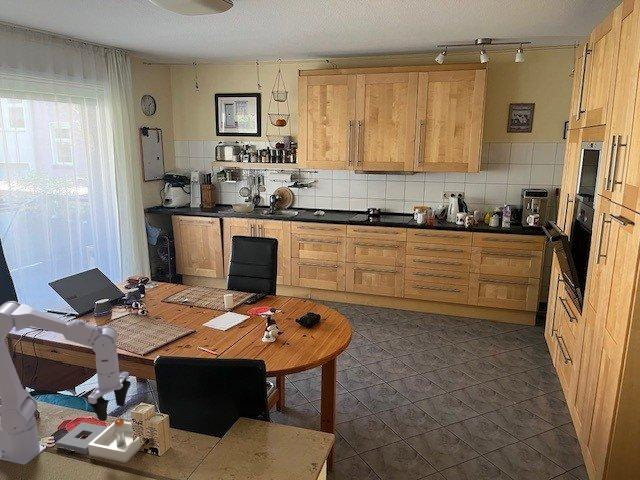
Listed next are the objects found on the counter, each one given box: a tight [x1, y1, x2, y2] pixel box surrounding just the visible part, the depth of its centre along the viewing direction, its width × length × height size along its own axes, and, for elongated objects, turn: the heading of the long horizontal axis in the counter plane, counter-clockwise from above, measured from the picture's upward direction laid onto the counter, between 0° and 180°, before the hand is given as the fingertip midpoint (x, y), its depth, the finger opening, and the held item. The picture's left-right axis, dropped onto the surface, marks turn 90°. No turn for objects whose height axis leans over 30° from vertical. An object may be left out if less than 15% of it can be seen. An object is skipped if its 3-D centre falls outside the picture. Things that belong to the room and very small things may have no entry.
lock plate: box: [55, 421, 109, 456], centre depth 137 cm, size 10×10×2 cm
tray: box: [88, 420, 141, 464], centre depth 135 cm, size 12×12×4 cm
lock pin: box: [114, 418, 126, 447], centre depth 134 cm, size 2×2×8 cm
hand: (111, 412), depth 136 cm, fingers open, 7 cm apart
